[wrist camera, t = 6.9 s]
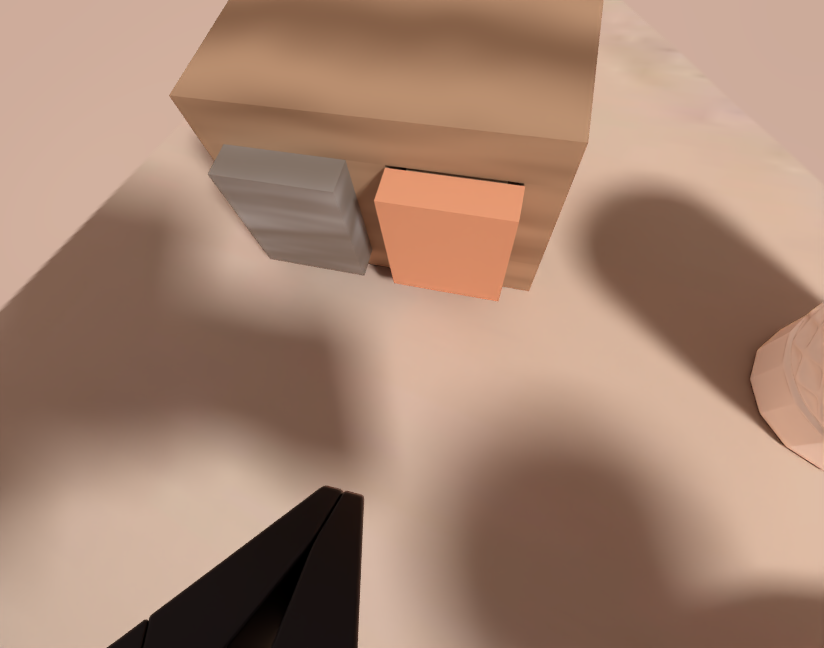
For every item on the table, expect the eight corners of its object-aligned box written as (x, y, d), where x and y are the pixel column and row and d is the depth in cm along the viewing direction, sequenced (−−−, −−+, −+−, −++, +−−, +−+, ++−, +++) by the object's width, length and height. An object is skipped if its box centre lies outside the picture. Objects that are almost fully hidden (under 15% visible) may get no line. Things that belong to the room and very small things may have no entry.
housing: (525, 317, 20) (583, 182, 12) (264, 270, 23) (149, 126, 14) (547, 168, 24) (605, -23, 15) (319, 140, 26) (254, -41, 17)
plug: (498, 301, 19) (519, 222, 14) (394, 282, 20) (374, 201, 14) (526, 144, 23) (551, 31, 17) (436, 134, 23) (433, 22, 18)
